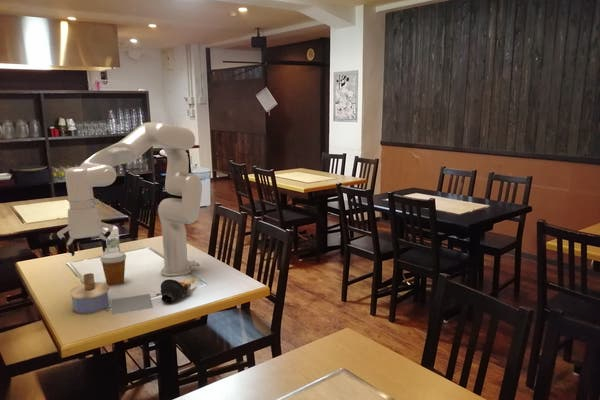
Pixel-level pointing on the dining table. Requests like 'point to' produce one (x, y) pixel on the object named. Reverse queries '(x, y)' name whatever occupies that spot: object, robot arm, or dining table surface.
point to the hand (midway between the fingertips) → (88, 252)
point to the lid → (89, 288)
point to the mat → (131, 303)
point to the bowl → (90, 304)
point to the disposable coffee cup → (114, 267)
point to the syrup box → (112, 240)
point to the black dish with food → (175, 289)
